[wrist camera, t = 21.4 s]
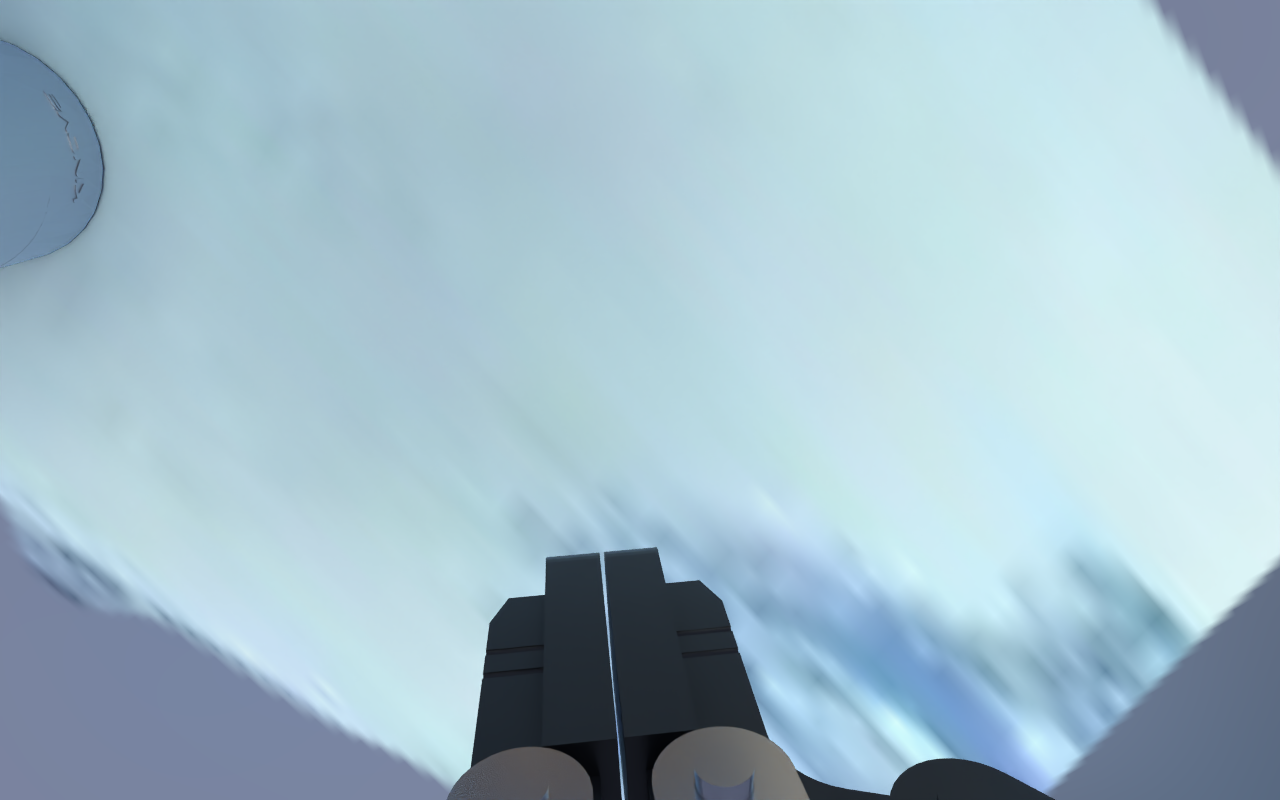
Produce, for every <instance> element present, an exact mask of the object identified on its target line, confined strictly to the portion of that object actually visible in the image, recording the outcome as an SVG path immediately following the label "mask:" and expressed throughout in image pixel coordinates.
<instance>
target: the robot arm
mask: <svg viewBox="0 0 1280 800" xmlns="http://www.w3.org/2000/svg"><path fill="white" fill-rule="evenodd" d="M102 175H103V166H102V159H101V152H100V146H99V142H98V140H97V137H96V134H95V131H94V129H93V126H92V123H91V121H90V119H89V117H88V116H87V114H86V112H85V110H84V109H83V107H82V105H81V104H80V102H79V100H78V99H77V97H76V96H75V95H74V94H73V92H72V91H71V90H70V89H69V88H68V87H67V85H66V84H65V83H64V82H63V81H62V80H61V78H60V77H59V76H58V75H56V74H55V73H54V72H53V71H52V70H50V69H49V68H48V67H47V66H46V65H44V64H43V63H42V62H41V61H40V60H38V59H37V58H35V57H34V56H32V55H30V54H28V53H27V52H25V51H23V50H21V49H20V48H18V47H16V46H15V45H13V44H10V43H7V42H5V41H2V40H0V268H3V267H6V266H9V265H13V264H16V263H20V262H23V261H27V260H30V259H33V258H37V257H40V256H44V255H47V254H50V253H52V252H54V251H56V250H57V249H59V248H61V247H63V246H65V245H67V244H68V243H69V242H71V241H72V240H73V239H74V238H75V237H76V236H77V235H78V234H79V233H80V232H81V231H82V230H83V229H84V228H85V226H86V225H87V223H88V222H89V220H90V218H91V217H92V215H93V214H94V212H95V209H96V206H97V203H98V200H99V197H100V194H101V188H102ZM604 561H605V575H606V589H607V603H608V617H609V631H610V646H611V659H612V671H613V683H614V694H615V705H616V715H617V725H618V735H619V745H620V755H621V766H622V776H623V786H624V796H625V800H1055V799H1053V798H1051V797H1049V796H1047V795H1045V794H1043V793H1042V792H1040V791H1038V790H1036V789H1034V788H1032V787H1030V786H1028V785H1026V784H1025V783H1023V782H1021V781H1019V780H1017V779H1015V778H1013V777H1011V776H1009V775H1008V774H1006V773H1003V772H1001V771H999V770H997V769H995V768H993V767H990V766H987V765H984V764H981V763H977V762H973V761H968V760H962V759H952V758H950V759H934V760H928V761H925V762H922V763H918V764H916V765H914V766H912V767H910V768H908V769H907V770H906V771H905V772H903V773H902V774H901V775H900V776H899V777H898V779H897V780H896V781H895V783H894V785H893V787H892V790H891V793H890V796H889V795H883V794H876V793H870V792H863V791H857V790H850V789H844V788H840V787H835V786H831V785H828V784H825V783H822V782H819V781H817V780H814V779H812V778H810V777H808V776H806V775H804V774H803V773H801V772H799V771H798V770H796V769H795V767H794V765H793V763H792V762H791V760H790V758H789V757H788V756H787V754H786V753H785V752H784V751H783V750H782V749H781V748H780V747H779V746H777V745H776V744H775V743H774V742H772V741H771V740H769V738H768V735H767V733H766V730H765V727H764V724H763V721H762V718H761V715H760V712H759V709H758V706H757V703H756V700H755V697H754V694H753V691H752V688H751V685H750V682H749V679H748V676H747V673H746V670H745V667H744V664H743V661H742V658H741V655H740V653H738V647H737V644H736V641H735V638H734V635H733V632H732V631H731V626H730V623H729V620H728V617H727V614H726V611H725V608H724V605H723V602H722V600H721V599H720V598H719V597H717V596H716V595H715V594H714V593H713V592H712V591H711V590H710V589H708V588H707V587H706V586H705V585H704V584H703V583H702V582H701V581H699V580H697V581H687V582H676V583H665V579H664V575H663V571H662V566H661V562H660V558H659V553H658V549H657V547H654V548H643V549H632V550H621V551H610V552H604ZM447 800H622V797H621V783H620V769H619V755H618V741H617V730H616V719H615V709H614V699H613V688H612V678H611V667H610V657H609V647H608V636H607V626H606V616H605V605H604V595H603V584H602V574H601V564H600V554H599V553H590V554H579V555H568V556H557V557H547V558H546V583H545V595H539V596H529V597H518V598H509V599H508V600H507V601H506V603H505V604H504V605H503V606H502V608H501V609H500V610H499V612H498V613H497V614H496V616H495V617H494V618H493V619H492V621H491V622H490V625H489V632H488V640H487V648H486V656H485V663H484V670H483V679H482V686H481V693H480V701H479V709H478V716H477V724H476V732H475V739H474V747H473V754H472V762H471V768H470V769H469V770H468V771H467V772H466V773H465V774H463V775H462V776H461V778H460V779H459V780H458V781H457V782H456V784H455V785H454V787H453V788H452V790H451V792H450V793H449V796H448V798H447Z"/></svg>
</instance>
